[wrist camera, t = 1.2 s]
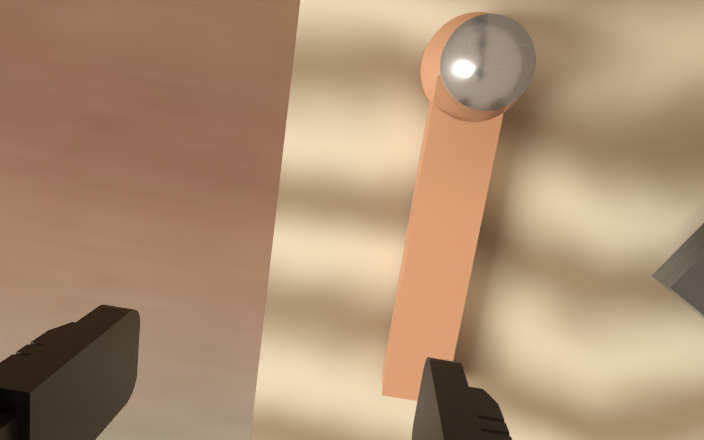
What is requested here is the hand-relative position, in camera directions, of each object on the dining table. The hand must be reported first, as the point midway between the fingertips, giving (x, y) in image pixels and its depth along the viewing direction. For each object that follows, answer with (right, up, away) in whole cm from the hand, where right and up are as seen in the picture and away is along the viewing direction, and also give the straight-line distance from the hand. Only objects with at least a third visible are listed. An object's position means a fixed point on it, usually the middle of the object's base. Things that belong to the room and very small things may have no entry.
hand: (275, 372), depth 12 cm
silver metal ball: (+7, +10, +10) cm, 16 cm away
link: (+6, +4, +14) cm, 15 cm away
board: (+12, +2, +15) cm, 19 cm away
